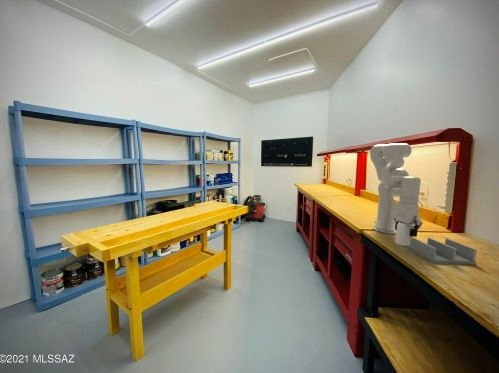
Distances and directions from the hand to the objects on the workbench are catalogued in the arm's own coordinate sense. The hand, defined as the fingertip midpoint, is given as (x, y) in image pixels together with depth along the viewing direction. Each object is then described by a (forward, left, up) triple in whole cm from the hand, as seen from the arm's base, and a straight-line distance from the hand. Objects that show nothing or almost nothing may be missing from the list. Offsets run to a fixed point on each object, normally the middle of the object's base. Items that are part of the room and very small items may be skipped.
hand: (405, 233), depth 98 cm
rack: (+12, +7, -6) cm, 15 cm away
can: (-1, 0, -7) cm, 7 cm away
